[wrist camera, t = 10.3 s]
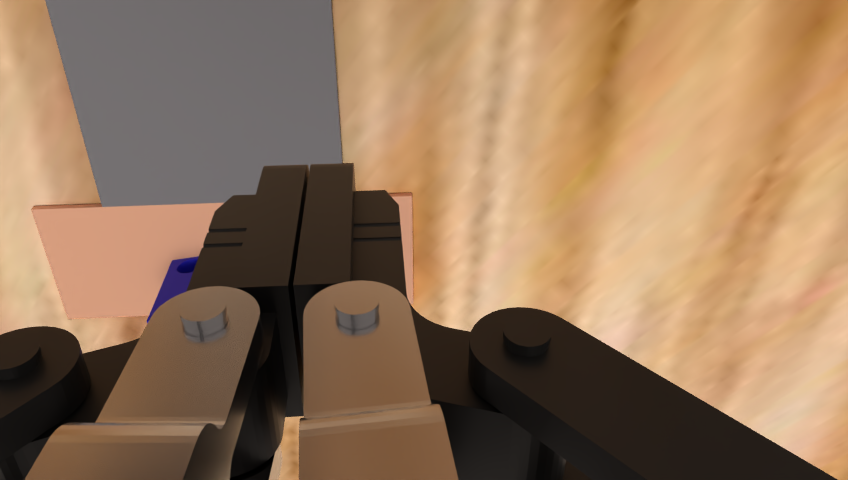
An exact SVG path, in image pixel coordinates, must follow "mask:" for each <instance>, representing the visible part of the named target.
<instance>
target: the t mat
mask: <svg viewBox="0 0 848 480" xmlns="http://www.w3.org/2000/svg"><path fill="white" fill-rule="evenodd" d="M45 1H46V5H47V8H48V12H49V15H50V19H51V23H52V26H53V30H54V34H55V37H56V41H57V45H58V48H59V52H60V55H61V59H62V63H63V66H64V70H65V74H66V77H67V81H68V84H69V88H70V92H71V95H72V99H73V103H74V106H75V110H76V113H77V117H78V121H79V124H80V128H81V132H82V135H83V139H84V143H85V146H86V150H87V153H88V157H89V161H90V164H91V168H92V172H93V175H94V179H95V182H96V186H97V190H98V193H99V197H100V201H101V204H82V205H54V206H34V207H33V208H32V209H31V210H32V213H33V216H34V219H35V222H36V225H37V228H38V231H39V234H40V237H41V240H42V243H43V246H44V249H45V252H46V255H47V258H48V261H49V264H50V267H51V270H52V273H53V276H54V279H55V282H56V285H57V288H58V291H59V294H60V297H61V300H62V302H63V305H64V308H65V311H66V314H67V317H68V319H84V318H107V317H129V316H149V314H150V312H151V310H152V307H153V305H154V302H155V300H156V298H157V295H158V293H159V290H160V288H161V286H162V283H163V281H164V278H165V276H166V274H167V271H168V269H169V266H170V264H171V262H172V260H177V259H184V258H190V257H197V256H199V254H200V251H201V249H202V248H203V243H204V240H205V237H206V235H207V233H209V230H208V229H209V226H210V223H211V221H212V218H213V215H214V212H215V211H216V210H217V209H218V208H219V207H220V206H221V205H223V204H224V203H225V202H226V201H227V200H228V199H229V198H231V197H232V196H233V195H256V192H257V188H258V184H259V181H260V177H261V173H262V169H263V167H264V166H275V165H308V167H309V171H310V165H311V164H338V163H342V149H341V134H340V120H339V105H338V90H337V76H336V61H335V47H334V32H333V17H332V3H331V0H45ZM389 195H390V196H391V197H392V198H393V199H394V200H395V201H396V202H397V203H398V205H399V212H400V225H401V235H402V246H403V258H404V269H405V281H406V292H407V298H408V300H409V302H410V304H413V240H412V193H393V194H389Z"/></svg>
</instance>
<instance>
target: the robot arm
mask: <svg viewBox="0 0 848 480" xmlns="http://www.w3.org/2000/svg"><path fill="white" fill-rule="evenodd" d="M208 230H209V233H207V235H206V237H205V240H204V243H203V248H202V249H201V251H200V254H199V257H198V260H197V263H196V265H195V268H194V271H193V274H192V277H191V279H190V282H189V285H188V288H187V291H186V292H184V293H181V294H179V295H177V296H175V297H173V298H171V299H169V300H168V301H166V302H165V303H164V304H162V305H161V306H160V307H159V308H158V309H157V310H156V311H155V312H154V313H153V315H152V316H151V318H150V320H149V322H148V324H147V326H146V328H145V329H144V331H143V333H142V335H141V337H140V338H138V339H136V340H133V341H130V342H127V343H123V344H120V345H116V346H112V347H108V348H104V349H100V350H96V351H92V352H88V353H84V354H82V351H81V348H80V345H79V342H78V340H77V339H76V337H75V336H74V335H73V334H71V333H70V332H68V331H66V330H64V329H60V328H56V327H47V326H42V327H29V328H23V329H18V330H14V331H11V332H7V333H4V334H2V335H0V480H278V479H279V475H280V470H281V465H282V452H281V446H280V443H281V440H282V436H283V429H284V421H285V417H295V416H304V418H300V423H299V480H837V479H835V478H834V477H832V476H830V475H829V474H827V473H825V472H824V471H822V470H820V469H818V468H817V467H815V466H813V465H812V464H810V463H808V462H806V461H805V460H803V459H801V458H800V457H798V456H796V455H794V454H793V453H791V452H789V451H788V450H786V449H784V448H782V447H781V446H779V445H777V444H776V443H774V442H772V441H771V440H769V439H767V438H765V437H764V436H762V435H760V434H759V433H757V432H755V431H753V430H752V429H750V428H748V427H747V426H745V425H743V424H741V423H740V422H738V421H736V420H735V419H733V418H731V417H730V416H728V415H726V414H724V413H723V412H721V411H719V410H718V409H716V408H714V407H712V406H711V405H709V404H707V403H706V402H704V401H702V400H700V399H699V398H697V397H695V396H694V395H692V394H690V393H689V392H687V391H685V390H683V389H682V388H680V387H678V386H677V385H675V384H673V383H671V382H670V381H668V380H666V379H665V378H663V377H661V376H659V375H658V374H656V373H654V372H653V371H651V370H649V369H647V368H646V367H644V366H642V365H641V364H639V363H637V362H636V361H634V360H632V359H630V358H629V357H627V356H625V355H624V354H622V353H620V352H618V351H617V350H615V349H613V348H612V347H610V346H608V345H606V344H605V343H603V342H601V341H600V340H598V339H596V338H595V337H593V336H591V335H589V334H588V333H586V332H584V331H583V330H581V329H579V328H577V327H576V326H574V325H572V324H571V323H569V322H567V321H565V320H564V319H562V318H560V317H558V316H556V315H554V314H552V313H549V312H546V311H542V310H538V309H533V308H521V307H516V308H507V309H501V310H498V311H495V312H492V313H490V314H488V315H486V316H484V317H483V318H481V319H480V320H479V321H478V322H477V323H476V324H475V325H474V327H473V329H472V330H471V332H469V331H463V330H458V329H452V328H448V327H444V326H441V325H438V324H435V323H433V322H431V321H429V320H427V319H426V318H424V317H423V316H421V315H420V314H419V313H418V312H416V311H415V310H414V308H413V307H412V306H411V305H410V302H409V300H408V298H407V292H406V281H405V269H404V258H403V246H402V235H401V225H400V212H399V205H398V203H397V202H396V201H395V200H394V199H393V198H392V197H391V196H390V195H389V194H388V193H387V192H386V191H385V190H377V191H355V174H354V164H353V163H338V164H311V165H310V171H309V167H308V165H275V166H264V167H263V169H262V173H261V177H260V181H259V184H258V188H257V192H256V195H233V196H232V197H231V198H229V199H228V200H227V201H226V202H225V203H224V204H223V205H221V206H220V207H219V208H218V209H217V210H216V211H215V212H214V215H213V218H212V221H211V223H210V226H209V229H208Z"/></svg>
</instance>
